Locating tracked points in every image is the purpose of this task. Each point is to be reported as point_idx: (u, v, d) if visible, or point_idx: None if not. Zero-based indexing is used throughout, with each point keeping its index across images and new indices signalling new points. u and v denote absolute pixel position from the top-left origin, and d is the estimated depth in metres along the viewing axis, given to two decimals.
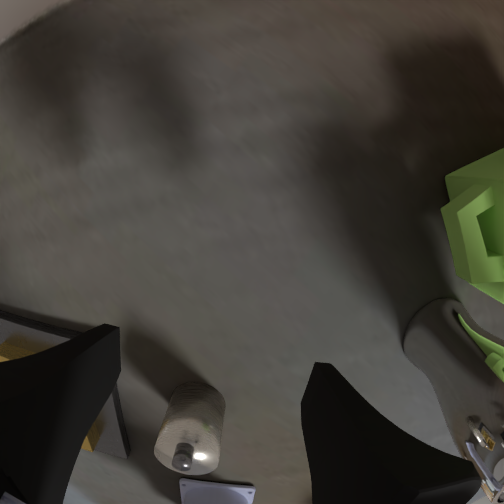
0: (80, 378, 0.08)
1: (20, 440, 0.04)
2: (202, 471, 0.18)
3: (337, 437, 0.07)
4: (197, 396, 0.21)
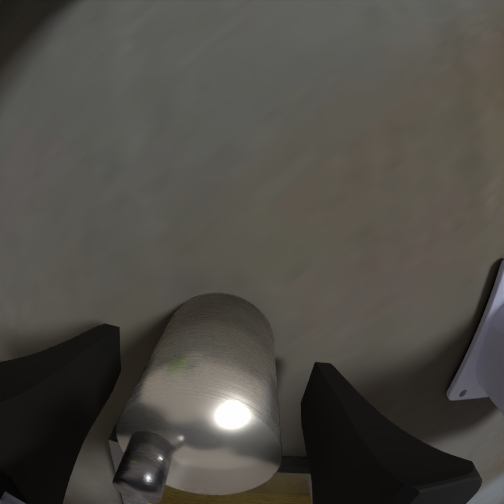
0: (80, 378, 0.08)
1: (20, 440, 0.04)
2: (257, 437, 0.07)
3: (337, 437, 0.07)
4: None
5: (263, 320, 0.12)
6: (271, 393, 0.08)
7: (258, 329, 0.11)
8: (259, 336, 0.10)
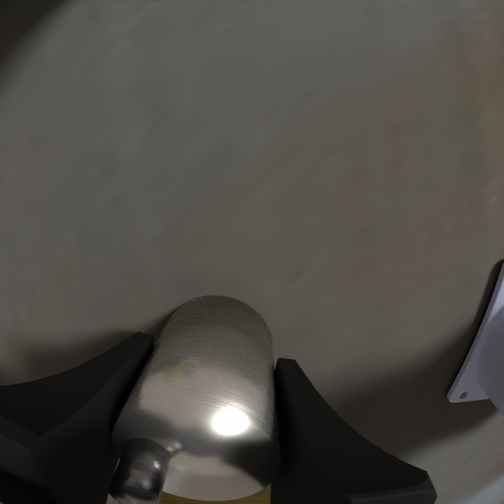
0: (121, 391, 0.08)
1: (70, 464, 0.04)
2: (256, 445, 0.06)
3: (290, 435, 0.07)
4: None
5: (261, 323, 0.12)
6: (270, 399, 0.08)
7: (257, 333, 0.11)
8: (258, 340, 0.10)
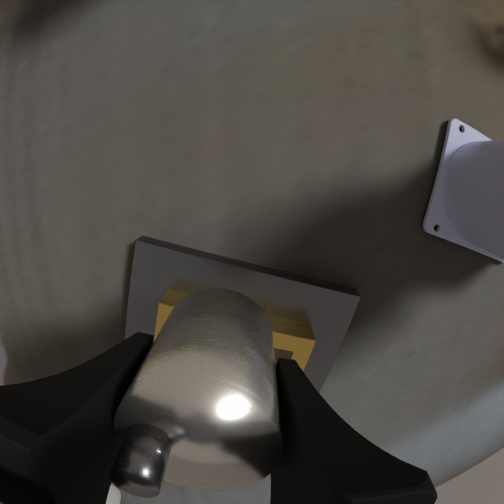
0: (120, 391, 0.08)
1: (70, 463, 0.04)
2: (257, 427, 0.07)
3: (290, 435, 0.07)
4: None
5: (262, 314, 0.12)
6: (270, 384, 0.08)
7: (257, 322, 0.11)
8: (258, 329, 0.10)
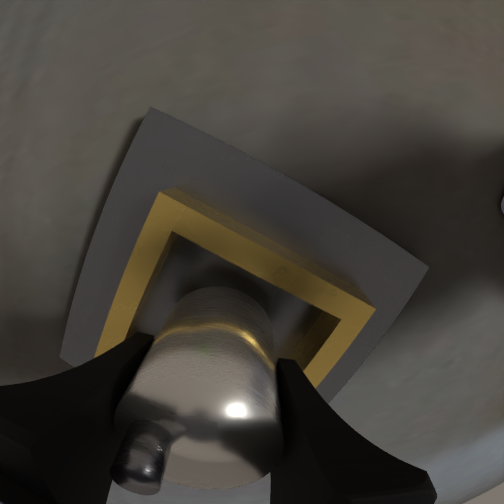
0: (121, 391, 0.08)
1: (70, 464, 0.04)
2: (258, 424, 0.07)
3: (290, 435, 0.07)
4: None
5: (262, 313, 0.12)
6: (271, 381, 0.08)
7: (258, 321, 0.11)
8: (259, 326, 0.10)
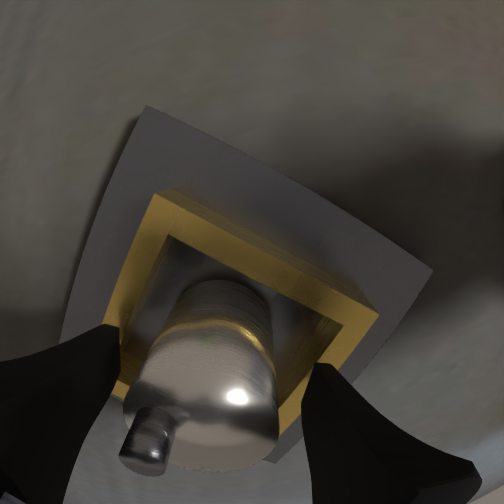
0: (80, 378, 0.08)
1: (20, 440, 0.04)
2: (256, 410, 0.07)
3: (337, 437, 0.07)
4: None
5: (262, 305, 0.13)
6: (269, 370, 0.09)
7: (257, 313, 0.11)
8: (258, 319, 0.11)
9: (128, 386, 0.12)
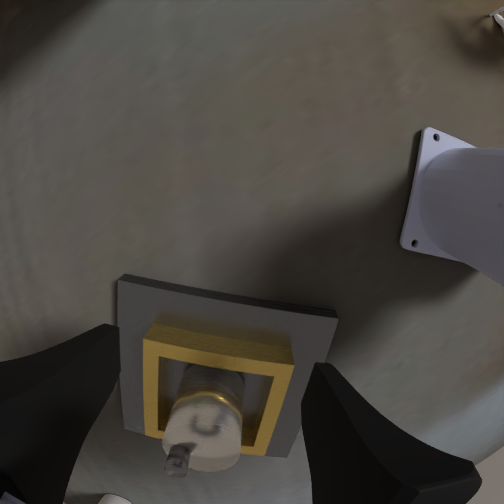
0: (80, 378, 0.08)
1: (20, 440, 0.04)
2: (220, 437, 0.15)
3: (337, 437, 0.07)
4: None
5: (228, 371, 0.20)
6: (227, 414, 0.16)
7: (223, 380, 0.19)
8: (223, 384, 0.18)
9: None
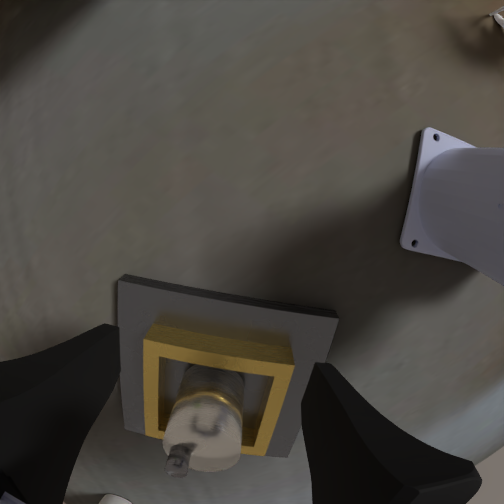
0: (80, 378, 0.08)
1: (20, 440, 0.04)
2: (220, 437, 0.15)
3: (337, 437, 0.07)
4: None
5: (228, 371, 0.20)
6: (228, 414, 0.16)
7: (223, 380, 0.19)
8: (223, 384, 0.18)
9: None
